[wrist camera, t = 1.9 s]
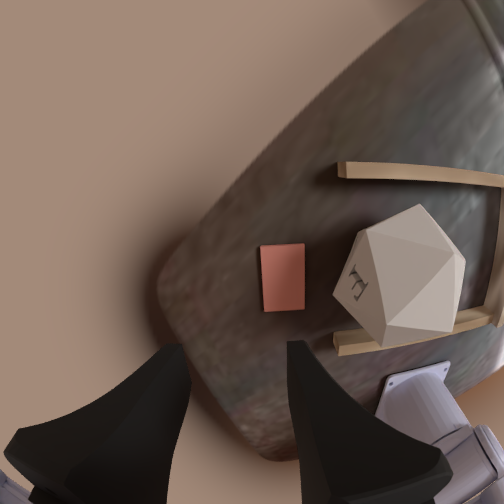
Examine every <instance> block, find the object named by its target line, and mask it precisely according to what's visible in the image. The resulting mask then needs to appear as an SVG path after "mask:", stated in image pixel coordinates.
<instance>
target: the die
mask: <svg viewBox="0 0 504 504" xmlns="http://www.w3.org/2000/svg"><path fill="white" fill-rule="evenodd" d="M465 262H466V260H465V259H464V257H463V256H462V255H461V253H460V252H459V251H458V249H457V248H456V247H455V245H454V244H453V243H452V242H451V240H450V239H449V238H448V236H447V235H446V234H445V233H444V231H443V230H442V229H441V228H440V227H439V225H438V224H437V223H436V222H435V221H434V219H433V218H432V217H431V216H430V215H429V213H428V212H427V211H426V210H425V209H424V208H423V207H422V206H421V204H418V205H416V206H414V207H411V208H409V209H407V210H405V211H403V212H401V213H398V214H396V215H394V216H392V217H390V218H387V219H385V220H383V221H381V222H379V223H376V224H374V225H372V226H370V227H368V228H365V229H363V230H361V231H359V232H358V233H357V236H356V239H355V241H354V244H353V246H352V249H351V252H350V254H349V256H348V259H347V261H346V264H345V266H344V269H343V271H342V273H341V276H340V278H339V280H338V283H337V285H336V287H335V290H334V292H333V294H332V295H333V296H334V297H335V298H336V299H337V300H338V301H339V302H340V303H341V304H342V305H343V306H344V308H345V309H346V310H347V311H348V312H349V313H350V314H351V315H352V316H353V317H354V318H355V319H356V320H357V322H358V323H359V324H360V325H361V326H362V327H363V328H364V329H365V330H366V331H367V332H368V333H369V335H370V336H371V337H372V338H373V339H374V340H375V341H376V342H377V343H378V344H379V345H380V347H381V348H382V347H387V346H393V345H398V344H403V343H408V342H413V341H418V340H422V339H427V338H431V337H435V336H439V335H443V334H447V333H451V332H452V330H453V326H454V322H455V317H456V313H457V308H458V304H459V299H460V294H461V288H462V282H463V276H464V269H465Z"/></svg>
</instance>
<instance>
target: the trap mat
mask: <svg viewBox="0 0 504 504" xmlns="http://www.w3.org/2000/svg"><path fill="white" fill-rule="evenodd" d="M260 249H261V265H262V282H263V299H264V312H270V311H286V310H301V309H305V244H304V243H299V244H281V245H264V246H260Z"/></svg>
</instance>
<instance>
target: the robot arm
mask: <svg viewBox="0 0 504 504" xmlns="http://www.w3.org/2000/svg"><path fill="white" fill-rule="evenodd" d="M449 367H450V362H449V361H444V362H441V363H437V364H434V365H430V366H426V367H423V368H419V369H415V370H411V371H406V372H402V373H398V374H393V375H390V376H388V378H387V379H386V383H385V386H384V389H383V392H382V395H381V399H380V402H379V405H378V407H377V410H376V413H375V416H374V415H373V414H371V413H370V412H369V411H368V410H366V409H365V408H364V407H362V406H361V405H360V404H359V403H358V402H356V401H355V400H354V399H353V398H352V397H351V396H350V395H349V394H348V393H347V392H346V391H345V390H344V389H343V388H342V387H341V386H340V385H339V384H338V383H337V382H336V381H335V380H334V379H333V378H332V377H331V375H330V374H329V373H328V372H327V371H326V369H325V368H324V367H323V366H322V364H321V363H320V362H319V361H318V359H317V358H316V356H315V355H314V354H313V352H312V351H311V349H310V347H309V346H308V344H307V342H305V341H304V340H299V341H287V387H288V400H289V407H290V413H291V418H292V423H293V428H294V433H295V438H296V443H297V448H298V454H299V462H300V476H301V492H302V504H463V503H464V502H466V501H467V500H469V499H470V498H472V497H473V496H475V495H476V494H478V493H479V492H480V491H482V490H483V489H485V488H486V487H487V486H489V485H490V484H491V483H492V484H491V485H490V486H489V487H488V488H486V489H485V490H484V491H483V492H482V493H481V494H480V495H479V496H477V497H475V498H474V499H472V500H470V501H468V502H467V503H465V504H504V450H503V449H502V447H501V445H500V444H499V442H498V440H497V439H496V437H495V436H494V434H493V433H492V431H491V430H490V429H489V428H488V426H487V425H480V424H479V425H478V426H477V427H476V428H473V427H472V426H471V425H470V424H469V422H468V420H467V419H466V417H465V415H464V414H463V412H462V411H461V409H460V407H459V406H458V404H457V403H456V401H455V400H454V398H453V397H452V395H451V394H450V392H449V391H448V389H447V388H446V386H445V385H444V383H443V381H444V379H445V376H446V374H447V372H448V369H449ZM191 384H192V382H191V378H190V375H189V371H188V367H187V363H186V360H185V356H184V351H183V347H182V344H166V345H164V346H163V347H162V348H161V349H160V350H159V351H158V352H157V353H155V354H154V355H153V356H152V357H151V358H150V359H149V360H148V361H147V362H145V363H144V364H143V365H142V366H141V367H140V368H139V369H137V370H136V371H135V372H134V373H133V374H132V375H130V376H129V377H128V378H126V379H125V380H124V381H123V382H121V383H120V384H119V385H118V386H116V387H115V388H114V389H112V390H111V391H109V392H108V393H106V394H105V395H103V396H102V397H100V398H99V399H97V400H95V401H93V402H92V403H90V404H88V405H86V406H84V407H82V408H80V409H78V410H76V411H74V412H72V413H70V414H68V415H65V416H63V417H60V418H57V419H54V420H51V421H48V422H45V423H42V424H38V425H34V426H29V427H25V428H20V429H18V430H17V432H16V433H15V435H14V436H13V438H12V440H11V441H10V442H9V444H8V445H7V447H6V449H5V450H4V455H5V457H6V458H7V460H8V461H9V462H10V463H11V464H12V465H13V466H14V467H15V468H16V469H17V470H18V471H19V472H20V473H21V474H22V475H23V476H24V477H25V478H26V479H28V480H29V481H30V482H31V483H32V484H33V485H34V488H33V490H32V492H29V491H28V490H26V489H25V488H23V487H22V486H20V485H19V484H17V483H16V482H14V481H13V480H11V479H10V478H8V477H7V476H6V475H5V474H4V472H2V470H0V504H166V503H167V492H168V484H169V475H170V469H171V464H172V458H173V454H174V449H175V446H176V443H177V439H178V436H179V433H180V429H181V427H182V423H183V420H184V417H185V413H186V410H187V407H188V403H189V397H190V391H191ZM496 479H497V480H496ZM495 480H496V481H495ZM494 481H495V482H494ZM493 482H494V483H493Z"/></svg>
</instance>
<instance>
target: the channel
mask: <svg viewBox="0 0 504 504" xmlns="http://www.w3.org/2000/svg"><path fill="white" fill-rule="evenodd" d="M337 163H338V177H343V178H378V179H409V180H429V181H444V182H457V183H468V184H478V185H487V186H496V187H501V204H500V217H499V227H498V235H497V243H496V249H495V255H494V261H493V267H492V272H491V276H490V281H489V285H488V290H487V294H486V298H485V301H484V305H482V306H478V307H474V308H470V309H466V310H462V311H457V313H456V317H455V322H454V326H453V330H452V332H451V333H447V334H443V335H439V336H435V337H431V338H427V339H422V340H418V341H413V342H408V343H403V344H398V345H393V346H387V347H382V348H381V347H380V345H379V344H378V343H377V342H376V341H375V340H374V339H373V338H372V337H371V336H370V335H369V333H368V332H367V331H366V330H365V329H364V328H360V329H352V330H343V331H334V335H333V343H334V346H335V348H336V351H337V354H338V356H343V355H350V354H357V353H364V352H371V351H377V350H383V349H388V348H394V347H399V346H404V345H409V344H414V343H419V342H423V341H428V340H432V339H436V338H440V337H444V336H448V335H452V334H456V333H459V332H463V331H467V330H470V329H473V328H477V327H480V326H483V325H486V324H490V323H492V324H493V325H494V326H496V327H497V328H498V327H500V326H503V323H504V176H503V175H497V174H491V173H485V172H478V171H471V170H463V169H455V168H446V167H436V166H425V165H412V164H396V163H374V162H337Z"/></svg>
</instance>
